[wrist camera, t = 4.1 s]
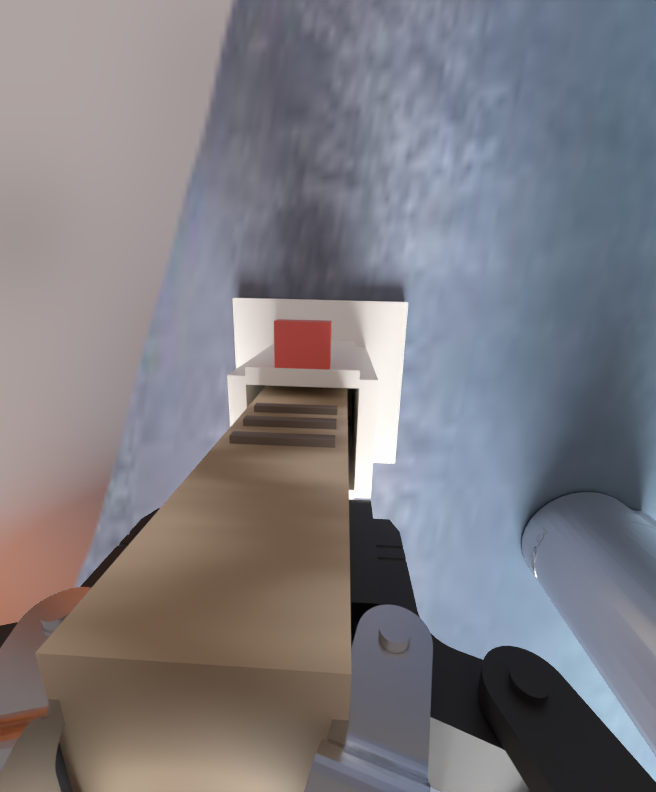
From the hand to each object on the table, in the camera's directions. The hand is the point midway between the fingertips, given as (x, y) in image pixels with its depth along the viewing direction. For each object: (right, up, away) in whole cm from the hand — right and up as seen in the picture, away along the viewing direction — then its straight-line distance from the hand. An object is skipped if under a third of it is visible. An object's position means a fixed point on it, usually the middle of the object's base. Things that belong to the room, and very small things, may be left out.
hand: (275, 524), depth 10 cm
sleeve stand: (+1, +5, +17) cm, 18 cm away
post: (+1, +5, +15) cm, 16 cm away
